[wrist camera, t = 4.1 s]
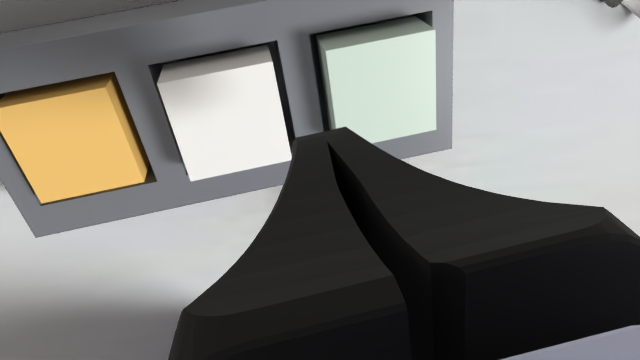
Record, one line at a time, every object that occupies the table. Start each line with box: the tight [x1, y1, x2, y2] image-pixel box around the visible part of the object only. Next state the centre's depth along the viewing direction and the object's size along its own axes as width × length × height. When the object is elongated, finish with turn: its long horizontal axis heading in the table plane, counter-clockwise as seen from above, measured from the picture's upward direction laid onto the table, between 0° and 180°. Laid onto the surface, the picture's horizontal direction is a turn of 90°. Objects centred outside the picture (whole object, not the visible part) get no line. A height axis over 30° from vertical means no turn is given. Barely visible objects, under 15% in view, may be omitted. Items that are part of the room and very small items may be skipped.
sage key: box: [316, 16, 436, 143], centre depth 16 cm, size 3×3×2 cm
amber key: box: [0, 72, 150, 204], centre depth 16 cm, size 3×3×2 cm
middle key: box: [157, 45, 292, 181], centre depth 15 cm, size 3×3×2 cm
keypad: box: [0, 0, 454, 238], centre depth 17 cm, size 15×6×3 cm, turn 98°
